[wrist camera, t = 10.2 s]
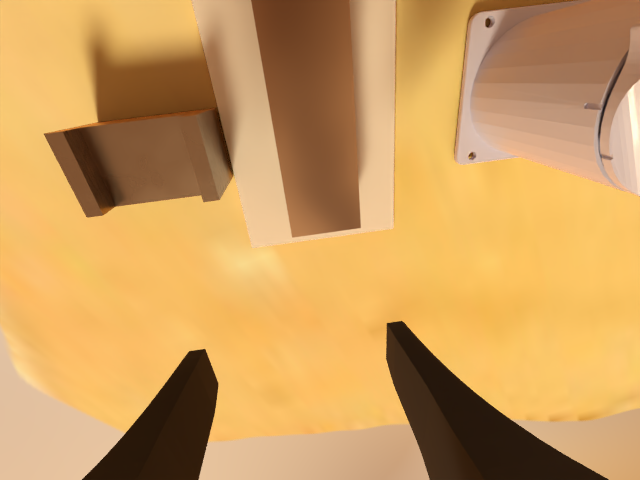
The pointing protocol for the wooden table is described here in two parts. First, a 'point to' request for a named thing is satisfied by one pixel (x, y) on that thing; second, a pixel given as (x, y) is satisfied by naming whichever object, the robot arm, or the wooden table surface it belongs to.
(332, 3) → the rail
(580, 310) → the wooden table surface
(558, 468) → the robot arm
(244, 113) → the felt pad
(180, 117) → the post
